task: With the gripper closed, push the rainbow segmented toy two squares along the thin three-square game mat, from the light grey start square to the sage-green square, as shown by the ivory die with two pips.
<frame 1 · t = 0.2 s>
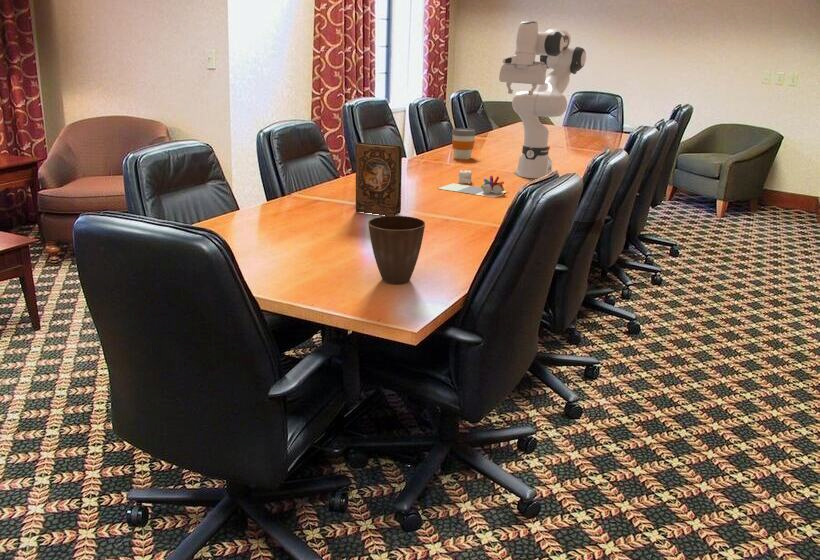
hand: (520, 94, 298), 39 cm above the table, tool pointing down, fingers open, 8 cm apart
game mat: (473, 190, 297), on the table
reusable coffee cup: (462, 158, 374), on the table
rainbow segmented toy: (492, 193, 292), resting on game mat
die: (464, 182, 312), on the table
plant pot: (395, 280, 188), on the table
stapler: (378, 196, 283), on the table
book: (377, 214, 255), on the table
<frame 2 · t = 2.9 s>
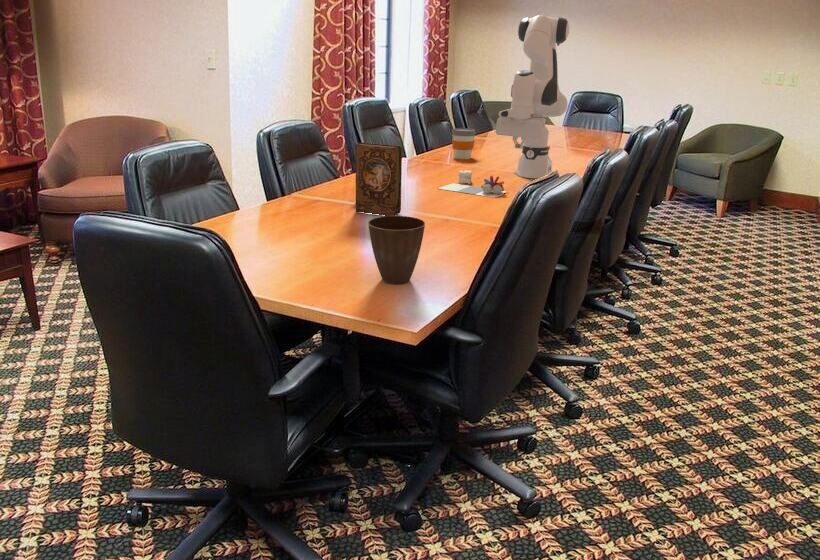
hand: (518, 148, 281), 20 cm above the table, tool pointing down, fingers closed
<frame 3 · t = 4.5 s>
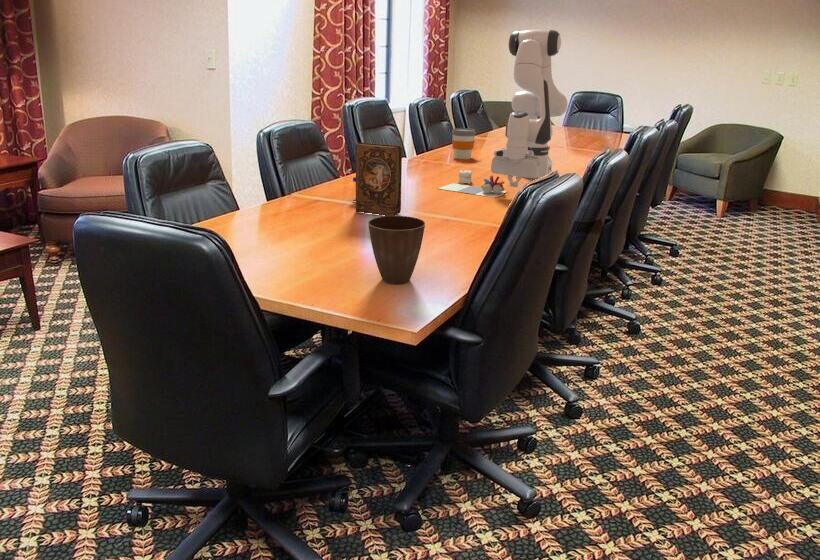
hand: (513, 186, 287), 4 cm above the table, tool pointing down, fingers closed
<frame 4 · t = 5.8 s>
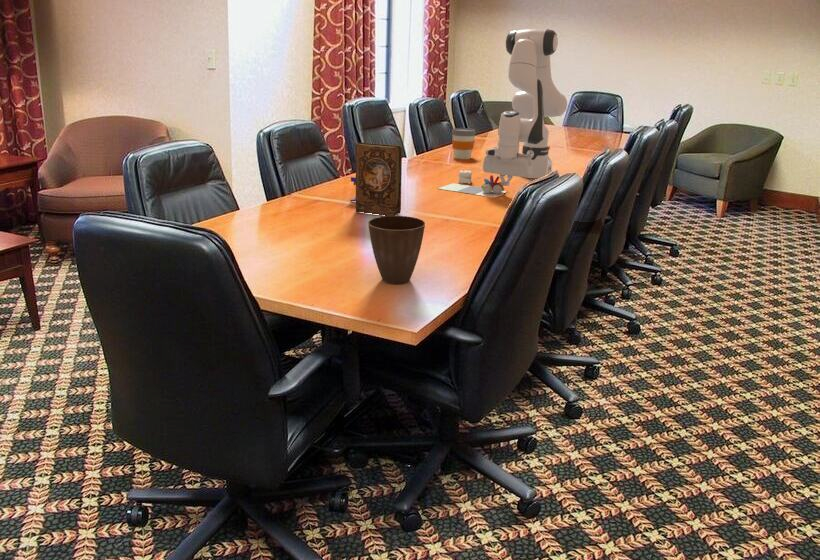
hand: (505, 185, 288), 4 cm above the table, tool pointing down, fingers closed
rainbow segmented toy: (492, 193, 293), resting on game mat, touching gripper
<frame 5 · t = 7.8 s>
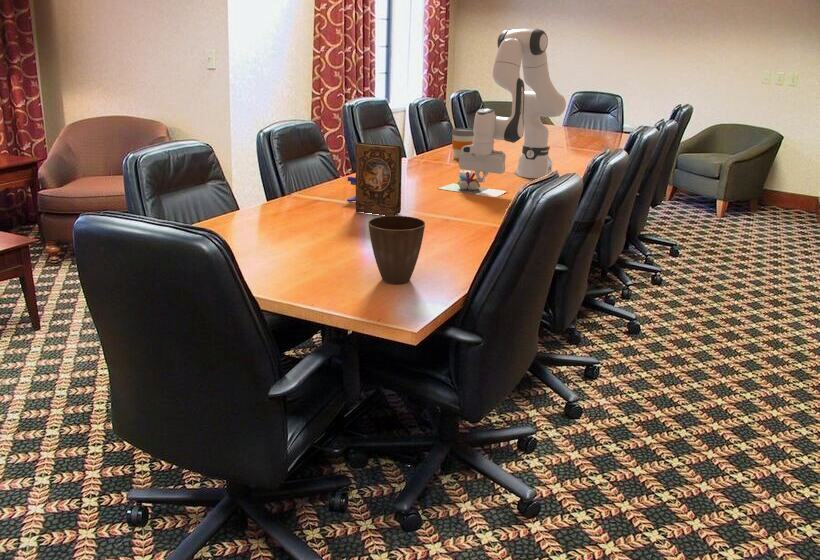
hand: (480, 181, 294), 4 cm above the table, tool pointing down, fingers closed
rainbow segmented toy: (468, 189, 298), resting on game mat, touching gripper
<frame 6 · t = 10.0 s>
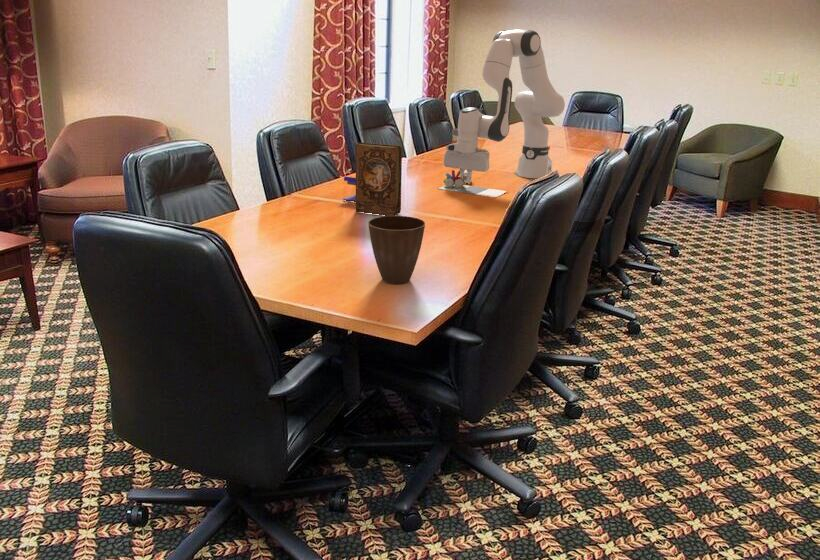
hand: (465, 179, 297), 4 cm above the table, tool pointing down, fingers closed
rainbow segmented toy: (454, 187, 302), resting on game mat, touching gripper
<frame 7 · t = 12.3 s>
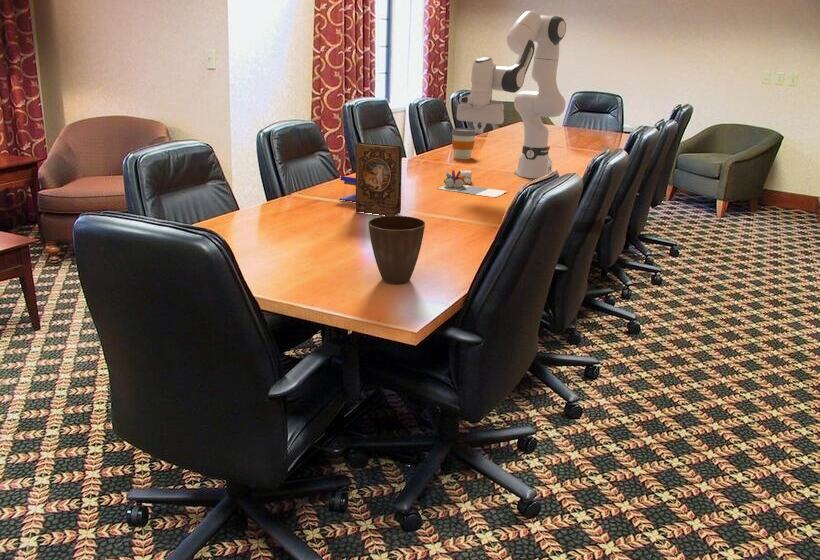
hand: (479, 133, 289), 24 cm above the table, tool pointing down, fingers closed
rainbow segmented toy: (454, 187, 302), resting on game mat
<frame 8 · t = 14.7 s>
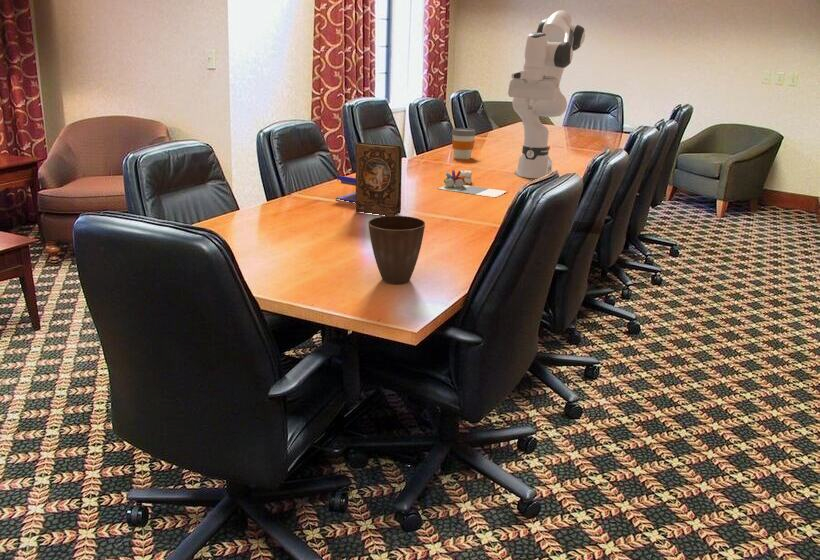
hand: (531, 110, 286), 34 cm above the table, tool pointing down, fingers closed
at the end: rainbow segmented toy inside the target area (1.1 cm from its centre), resting on game mat; rainbow segmented toy tilted 0°; rainbow segmented toy moved 18.5 cm from its start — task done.
